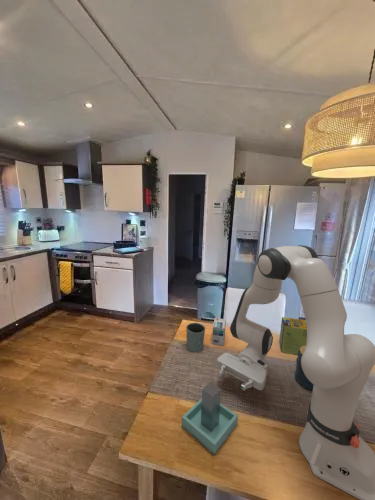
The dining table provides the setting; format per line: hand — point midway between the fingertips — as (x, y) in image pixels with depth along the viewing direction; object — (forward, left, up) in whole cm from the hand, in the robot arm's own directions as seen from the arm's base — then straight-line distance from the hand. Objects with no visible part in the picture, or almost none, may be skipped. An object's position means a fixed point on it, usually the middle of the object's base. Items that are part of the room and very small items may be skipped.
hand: (231, 381), depth 89 cm
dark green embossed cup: (+34, -19, -11) cm, 40 cm away
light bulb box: (+29, -34, -11) cm, 46 cm away
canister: (-19, -36, -11) cm, 42 cm away
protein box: (-6, -56, -11) cm, 57 cm away
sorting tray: (+1, +12, -11) cm, 16 cm away
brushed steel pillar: (+1, +12, -10) cm, 16 cm away
